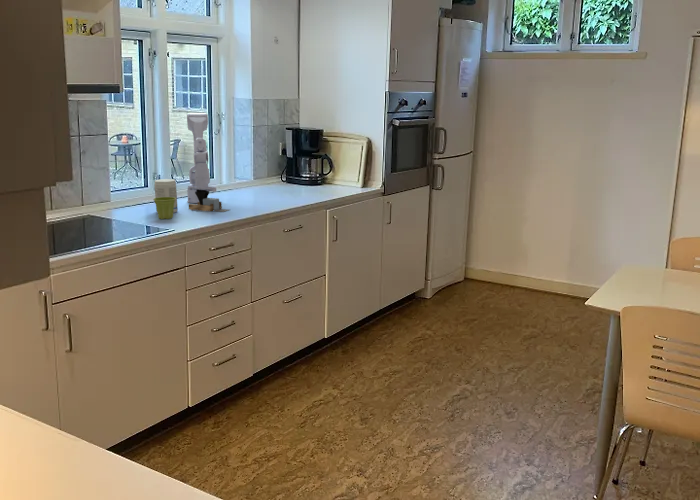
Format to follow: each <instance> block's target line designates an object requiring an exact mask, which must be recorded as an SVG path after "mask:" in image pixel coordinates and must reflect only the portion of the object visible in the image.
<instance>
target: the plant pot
mask: <svg viewBox="0 0 700 500" xmlns="http://www.w3.org/2000/svg"><path fill="white" fill-rule="evenodd" d="M175 199H176V198H174V197H159V198H155V197H154V198H153V201H154V204H155V209H156V208H157V211H156V213H157V218H158V219H160V220H164V219H166V220H171V219H172V218H173V217H174V213H173V209H174V202H175Z"/></svg>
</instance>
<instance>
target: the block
mask: <svg viewBox="0 0 700 500" xmlns="http://www.w3.org/2000/svg"><path fill="white" fill-rule="evenodd" d="M219 202H220V198H217V197H216V198H215V197H214V198H213V197H208V198H205V199H203V205H209V206H210V204H213V211H214V210H218V209H219Z"/></svg>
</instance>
